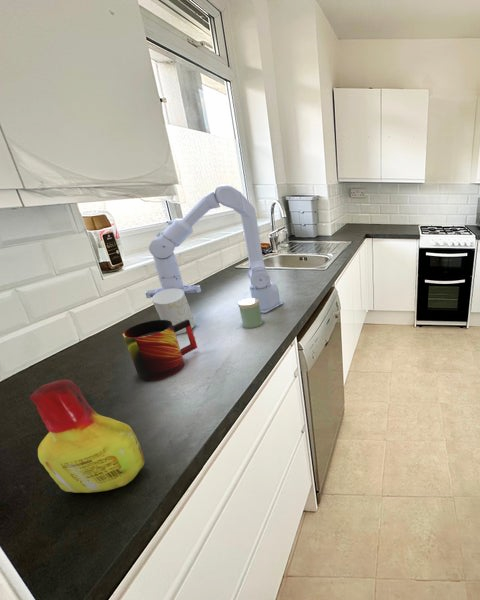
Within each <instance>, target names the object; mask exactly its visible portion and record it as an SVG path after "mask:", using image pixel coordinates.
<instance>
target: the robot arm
mask: <svg viewBox="0 0 480 600" xmlns="http://www.w3.org/2000/svg"><path fill="white" fill-rule="evenodd" d="M220 205H222V206H224V207H226V208H229V209H231V210H233V211H234V212H236V213H238V214H239V215H240V218H241V223H242V229H243V235H244V236H243V237H244V241H245V246H246V247H245V248H246V252H247V257H248V266H249V267H248V270H247V276H248V278H249V280H250V284H249V290H250V296H251V297H250V298H257V299H259V303H260V304H259V305H260V311H261V314H267V313H268V312H271V311H272V310H274V309H277V308H278V307H279V306H281V305H283V302H281V297H280V292H279V287H278V285H277V284H276V283H275V282H274V281H271V277H270V275H269V273H268V272H267V271H266V265H265V261H264V256H263V250H262V245H261V239H260V231H259V225H258V219H257V213H256V208H255V206H254V205H253V204H252V203H251V202H250V201H249V200H248V198H246V196H244V194H243V193H242V192H241V191H240V190H238V189H236V188H235V187H233V186H232V185H229V184H226V183H223V184H220V185H218V186H217V187H216V188H215V189H213V190H211V191H210V192H209V193H207V194H206V195H204V196H203V197H202V198H201V199H200V200H199V201H198V202H197V204H195V205H194V206H193V208H191V210H189V212H187V214H186V215H184V217H182V218H174V219H173V220H171V219H170V220H168V222H167V223H166V224H167V225H166V227H165V228H164V229H163V230H162V231H161V232H157V233H156V234H155V236H156V237H154V238H153V240H151V242H150V244H149V246H148V250H149V254H151V255H152V258H153V260H154V266H155V269H156V273H157V276H158V279H159V283H160V288H155V289H151V290H150V289H149V290H146V291H145V292H144V295H145V297H146V299H152V297H153V296H154V295H155V294H156V293H158V292H160V291H162V290H165V289H171V288H177V289H181V290H183V291H184V294H185V296H186V295H187V294H191V293H201V292H202V289H201V288H202V287H201V285H200V284H195V285H184V282H183V278H182V274H181V271H180V267H179V263H178V260H177V258H176V255H175V252H174V251H175V248H178V247H180V245H182V244H183V243H184V242H185V241H186V240H187V239H188V238H189V237H190V236H191V235H192V234H193V232H194V230H193V226H194V225H195V224H196V223H197V222H198V221H199V220H200V219H201V218H203V217H205V215H206V214H207V213H208V212H209V211H211V210H212V209H217V208H221V206H220Z"/></svg>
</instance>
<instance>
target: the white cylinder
mask: <svg viewBox="0 0 480 600" xmlns="http://www.w3.org/2000/svg"><path fill="white" fill-rule="evenodd" d="M151 301H152V303H153V305H154V307H155V310H156V312H157V315H158V316H159V320H168V321H171V322H172V325H176V324H178V323H180V322H182V321H185V320H189V321H190V324H191V328H192V329H193V328H194V327H195V325H196V320H195V318H194V315H193V312H192V310H191V307H190V305H189V301H188V299H187V297H186V295H185V294H184V291H183V290H181V289H177V288H171V289H165V290H162V291H160V292H158V293H156V294H155V295H154V296H153V297H151ZM185 333H187V331H186V328H184V329H181V330H179V331H177V332H175V334H176V335H181V334H185Z"/></svg>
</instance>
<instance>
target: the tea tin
mask: <svg viewBox="0 0 480 600" xmlns="http://www.w3.org/2000/svg"><path fill="white" fill-rule="evenodd" d="M259 304H260V303H259V299H257V298H252V297H249V298H244V299H241V300H239V301H238V302H237V305H238V308H239V312H240V317H241V322H242V325H243V326H242V327H243V328H246V329H252V328H257V327H260V326H261V325H263V322H264V321H263V317H262V313H261V311H260V305H259Z"/></svg>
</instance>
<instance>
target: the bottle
mask: <svg viewBox="0 0 480 600" xmlns="http://www.w3.org/2000/svg"><path fill="white" fill-rule="evenodd" d="M29 400H30V401H31V402H32V403H34V405H35V406H36V408H37V409H36V410H37V412H38V414H39V416H40V418H41V420H42V422H43V423H44V424H45V427H46V429H47V431H48V433H47V434H46V435H45V436H44V438H43V439H42V440H41V442H40V443H39V445H38V447H37V458H38V460H39V463H40V464H41V465H42V466H43V467H44V468H45V469H44V470H46V472H48V474H49V476H50V477H51V478H52V480H53V481H54V482H55V484H56V485H58V487H59V488H60V489H61V490H62V491H64V492H66V493H76V494H81V493H85V494H89V493H100V492H107V491H112V490H115V489H118V488H121V487H125V486H126V485H127V484H129V483H130V482H132V481H133V480H134V479H135V478H136V477H137V475H138V474H139V472H140V471H141V470H142V468H143V467H144V465H145V455H144V452H143V451H142V447H141V443H140V441H139V440H138V438H137V434H136V433H135V432H134V431H133V429H132V427H131V426H130V425H129V424H127V423H125V422H122V421H119V420H117V419H114V418H111V417H108V416H104V415H101V414H98V413H97V411H95V410H94V409H93V408H92V407H91V406H90V404H89V403H88V401H87V399H86V397H85V396H84V395H83V393H82V390H81V389H80V387H79V386H78V385H77V384H75V383H74V381H72V380H71V379H59V380H54V381H51V382H48V383H45V384H43V385H40V386H39V387H38V388H36V389H35V390H34V391H33V393H31V396H30V398H29Z"/></svg>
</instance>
